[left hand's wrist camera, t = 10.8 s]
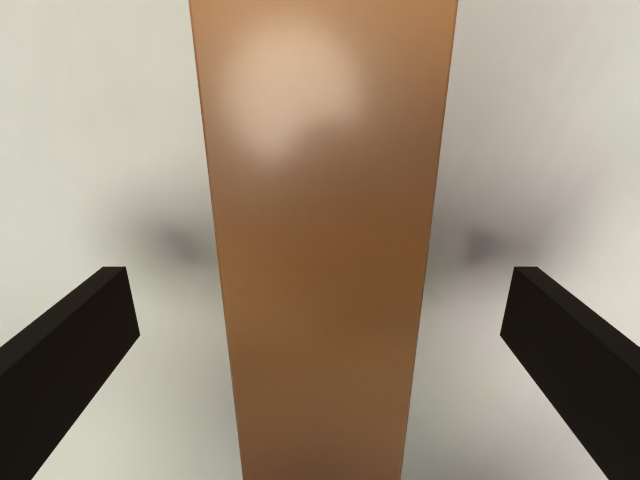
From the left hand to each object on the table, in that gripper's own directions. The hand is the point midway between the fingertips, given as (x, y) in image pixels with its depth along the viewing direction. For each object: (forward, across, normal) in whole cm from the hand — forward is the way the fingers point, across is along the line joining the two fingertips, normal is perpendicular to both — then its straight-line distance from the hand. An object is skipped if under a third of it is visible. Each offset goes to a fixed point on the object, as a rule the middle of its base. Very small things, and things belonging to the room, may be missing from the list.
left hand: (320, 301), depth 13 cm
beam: (+4, 0, -24) cm, 24 cm away
